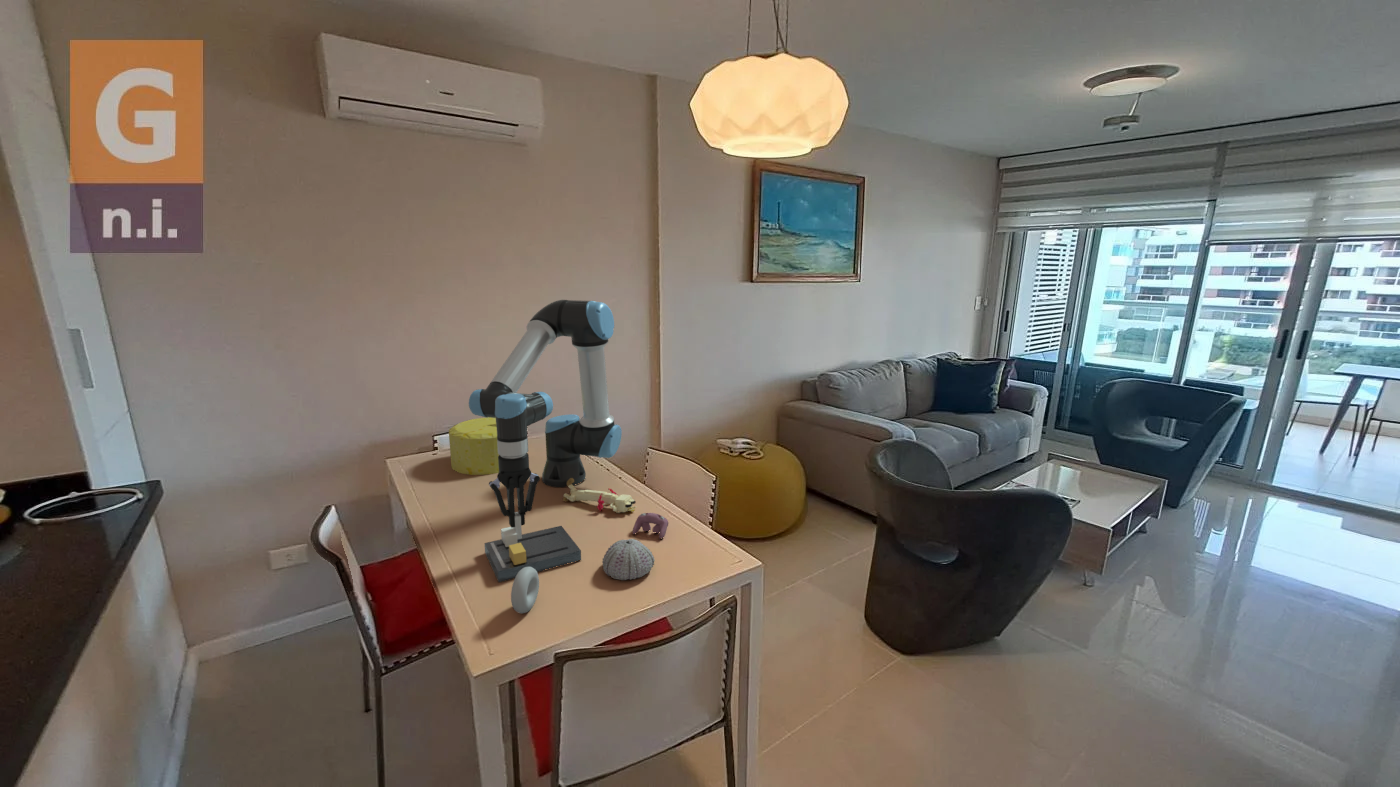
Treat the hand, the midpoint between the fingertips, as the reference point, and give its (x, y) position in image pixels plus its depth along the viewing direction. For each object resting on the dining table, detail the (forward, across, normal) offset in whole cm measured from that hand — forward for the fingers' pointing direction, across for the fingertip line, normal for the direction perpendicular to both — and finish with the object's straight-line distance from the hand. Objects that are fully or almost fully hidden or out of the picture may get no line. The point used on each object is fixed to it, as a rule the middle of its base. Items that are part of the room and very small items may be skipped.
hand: (517, 536), depth 151 cm
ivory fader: (+1, +2, 0) cm, 3 cm away
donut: (+5, +5, +27) cm, 28 cm away
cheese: (+5, -7, -73) cm, 73 cm away
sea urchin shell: (+5, -22, +23) cm, 32 cm away
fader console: (+4, -2, +5) cm, 7 cm away
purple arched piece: (+5, -36, +8) cm, 37 cm away
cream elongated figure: (+5, -30, -16) cm, 35 cm away
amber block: (+1, +3, +10) cm, 10 cm away
